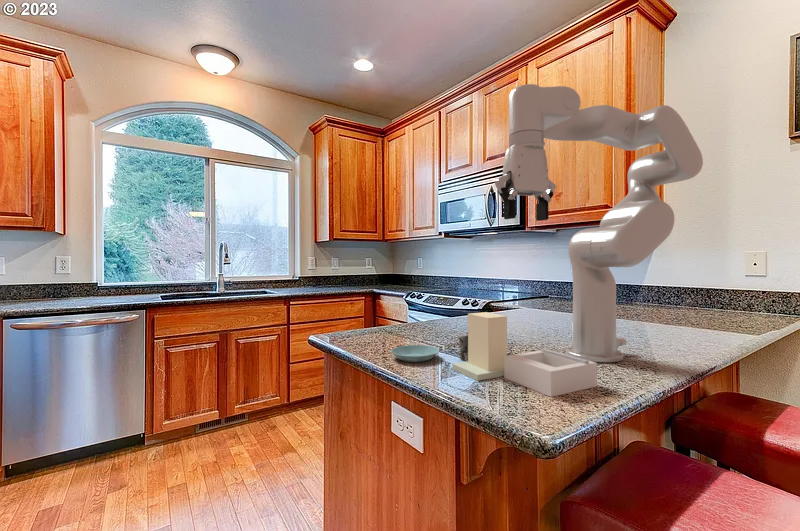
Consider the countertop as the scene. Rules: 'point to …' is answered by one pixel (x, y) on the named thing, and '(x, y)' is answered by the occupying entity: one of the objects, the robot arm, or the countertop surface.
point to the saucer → (415, 353)
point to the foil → (463, 346)
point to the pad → (476, 371)
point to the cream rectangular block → (487, 340)
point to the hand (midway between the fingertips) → (526, 219)
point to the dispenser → (550, 372)
